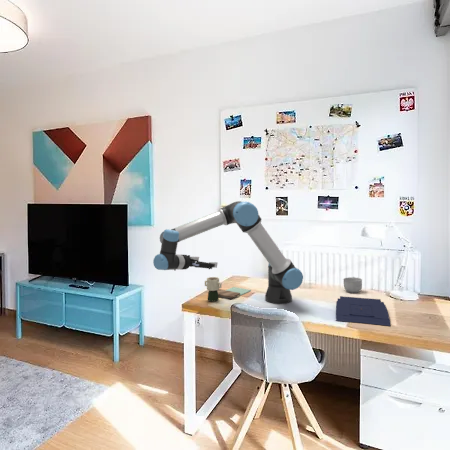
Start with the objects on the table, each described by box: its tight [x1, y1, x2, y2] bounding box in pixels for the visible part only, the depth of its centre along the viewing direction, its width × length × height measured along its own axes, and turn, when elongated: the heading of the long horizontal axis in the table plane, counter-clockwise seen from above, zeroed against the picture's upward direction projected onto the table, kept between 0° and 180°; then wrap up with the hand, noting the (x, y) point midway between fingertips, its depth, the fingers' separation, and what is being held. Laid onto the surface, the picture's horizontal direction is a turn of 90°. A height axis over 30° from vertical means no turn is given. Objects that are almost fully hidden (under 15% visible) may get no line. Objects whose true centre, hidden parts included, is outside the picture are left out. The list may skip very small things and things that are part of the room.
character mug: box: [204, 276, 222, 302], centre depth 206 cm, size 11×7×13 cm, turn 61°
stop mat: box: [225, 286, 252, 296], centre depth 225 cm, size 13×12×1 cm
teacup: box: [342, 276, 363, 294], centre depth 225 cm, size 14×11×8 cm
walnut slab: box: [217, 288, 241, 300], centre depth 216 cm, size 16×9×2 cm, turn 55°
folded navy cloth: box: [335, 295, 391, 327], centre depth 184 cm, size 24×30×4 cm
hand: (207, 261), depth 201 cm, fingers open, 13 cm apart
